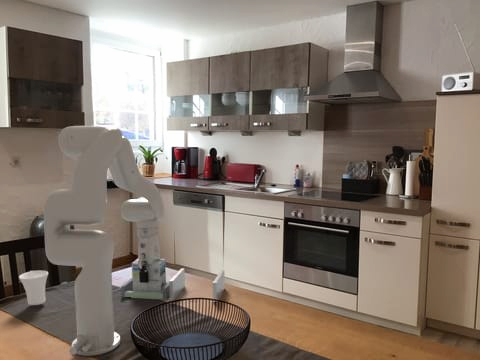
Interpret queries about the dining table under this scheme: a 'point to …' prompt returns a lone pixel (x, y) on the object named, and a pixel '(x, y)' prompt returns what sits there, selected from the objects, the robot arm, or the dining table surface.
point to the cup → (34, 286)
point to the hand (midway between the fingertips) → (149, 278)
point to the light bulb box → (150, 277)
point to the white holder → (179, 283)
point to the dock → (128, 292)
